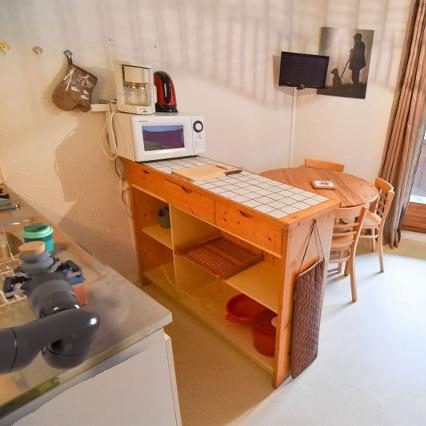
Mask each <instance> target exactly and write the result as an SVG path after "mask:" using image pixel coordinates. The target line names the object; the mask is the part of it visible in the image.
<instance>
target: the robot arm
mask: <svg viewBox="0 0 426 426" xmlns="http://www.w3.org/2000/svg"><path fill="white" fill-rule="evenodd" d="M51 258H52V259H53V263H54V266H52V267H51V268H50V270H49V271H46V272H43V273H40V274H36V275H33V274H30V273H26V274H24V273H23V271H22V269H21V265H18V266H16V268H14V269H13V274H14V275H13V276H10V275H9V276H6V277H5V278H3V285H2V291H3V295H4V297H5V299H6V300H12V299H14V298H15V296H16V295H19V294H22V295H24V296H26V299H27V302H28V304H29V309H30V310H31V311H32V313H33V314H34V315H35V318H36V319H34V320H32V321H28V322H26V323H23V324H20V325H17V326H7V327H2V328H0V376H3V375H4V376H5V375H8V374H12V373H16V372H19V371H22V370H25V369H26V368H28V367H30V365H31V364H32V363H33V362H34V361H35V359H36V358H37V357H38V355H39V354H40V353H41V357H42V359H43V361H44V362H45V364H46V365H48V366H49V367H51V368H52V369H55V370H60V371H68V370H72V369H76V368H78V367H79V366H81V365H82V364H84V363H85V362H86V361H87V359H88V358H89V357H90V355H91V353H92V351H93V347H94V345H95V341H96V339H97V336H98V333H99V330H100V327H101V323H102V319H101V316H100V314H99V313H97V312H96V311H95V310H92V309H90V308H85V307H83V306H82V305H81V303H80V301H79V300H78V298H77V295H76V292H75V290H74V289H73V288H74V287H73V285H71V284H70V282H69V278H71V277H74V276H75V277H76V278H79V277H83V272H82V273H81V271H82V268H81V269H80V267H79V266H80V265H78V264H76V262H74V261H73V260H72V259H67V260H65V261H63V262H62V260H61V259H60V258H59V257H55V256H52V257H51ZM66 269H67V270H68V271H69V273H66V272H63V271H64V270H66ZM16 285H20V287H18V286H16Z"/></svg>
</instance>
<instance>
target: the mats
mask: <svg viewBox="0 0 426 426" xmlns="http://www.w3.org/2000/svg"><path fill="white" fill-rule="evenodd" d="M78 266H79V267H80V269H81V273H82V274H83V270H82V266H81V265H78ZM63 272H66V273H69V271H68V270H67V269H66V270H64V271H63ZM69 282H70V284H71V285H72V286H73V285H76V284H80V283H84V278H83V276H82V277H79V278H76V277H75V276H74V277H71V278H69ZM73 289H74V290H75V292H76V295H77V298H78V300H79V301H80V303H81V305H82V307H83V306H87V305H88V302H87V296H86V289H85V286H84V285H82V286H81V285H80V286H77V287H73Z"/></svg>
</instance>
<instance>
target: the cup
mask: <svg viewBox="0 0 426 426" xmlns="http://www.w3.org/2000/svg"><path fill="white" fill-rule="evenodd" d="M53 232H54V229H53V226H50V225H49V224H48V223H47V222H35V223H31V224H28V225H26V226H24V227H23V229H22V230H21V231H20V236H21V237H22V238H23V242H24V244H25V243H28V242H33V241H42V242H44V243H45V248H47V249H48V253H51V257H54V236H53Z"/></svg>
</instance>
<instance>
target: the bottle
mask: <svg viewBox="0 0 426 426" xmlns="http://www.w3.org/2000/svg"><path fill="white" fill-rule="evenodd" d="M17 250H18V251H19V252H20V253H19V259H20V260H21V261H22V262H21V263H20V266H21V269H22V271H23V273H24V274H26V273H30V274H33V275H36V274H40V273H43V272H46V271H49V270H50V268H51V267H52V266H54V263H53V259H52V258H51V257H50V256H46V255H47V254H48V249H47V248H45V243H44V242H42V241H33V242H28V243H25V242H24V243H23V244H21V245H19V246H18V248H17Z"/></svg>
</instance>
